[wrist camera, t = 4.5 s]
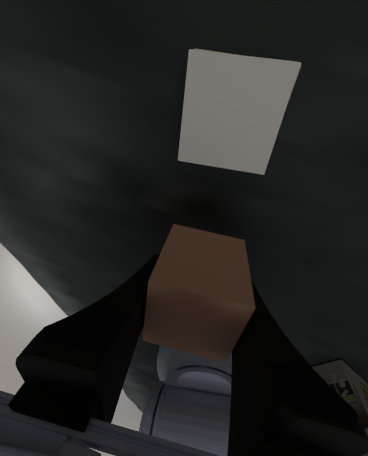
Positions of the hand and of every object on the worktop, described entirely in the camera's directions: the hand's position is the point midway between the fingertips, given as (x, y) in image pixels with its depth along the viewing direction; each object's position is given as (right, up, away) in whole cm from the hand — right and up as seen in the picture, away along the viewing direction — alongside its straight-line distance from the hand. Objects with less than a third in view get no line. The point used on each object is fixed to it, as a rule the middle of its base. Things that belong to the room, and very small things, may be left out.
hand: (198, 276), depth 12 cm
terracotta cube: (0, +1, +1) cm, 2 cm away
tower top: (+2, +11, +2) cm, 11 cm away
